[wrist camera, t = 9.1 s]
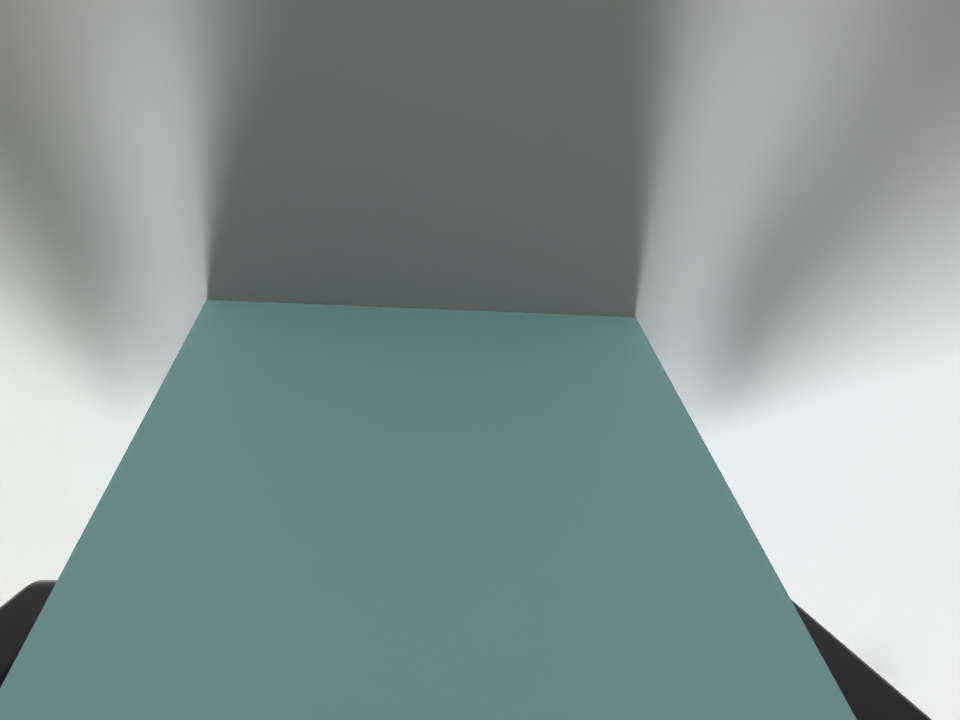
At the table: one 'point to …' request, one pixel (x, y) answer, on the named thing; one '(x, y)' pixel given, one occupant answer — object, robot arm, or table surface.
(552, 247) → the table surface
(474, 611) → the teal block
